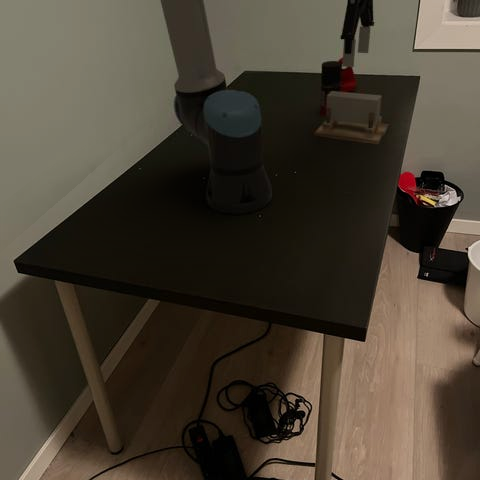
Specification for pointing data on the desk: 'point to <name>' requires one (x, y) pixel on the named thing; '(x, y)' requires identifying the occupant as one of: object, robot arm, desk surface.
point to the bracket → (347, 79)
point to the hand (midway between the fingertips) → (355, 59)
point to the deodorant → (330, 81)
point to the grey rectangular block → (353, 107)
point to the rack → (352, 130)
